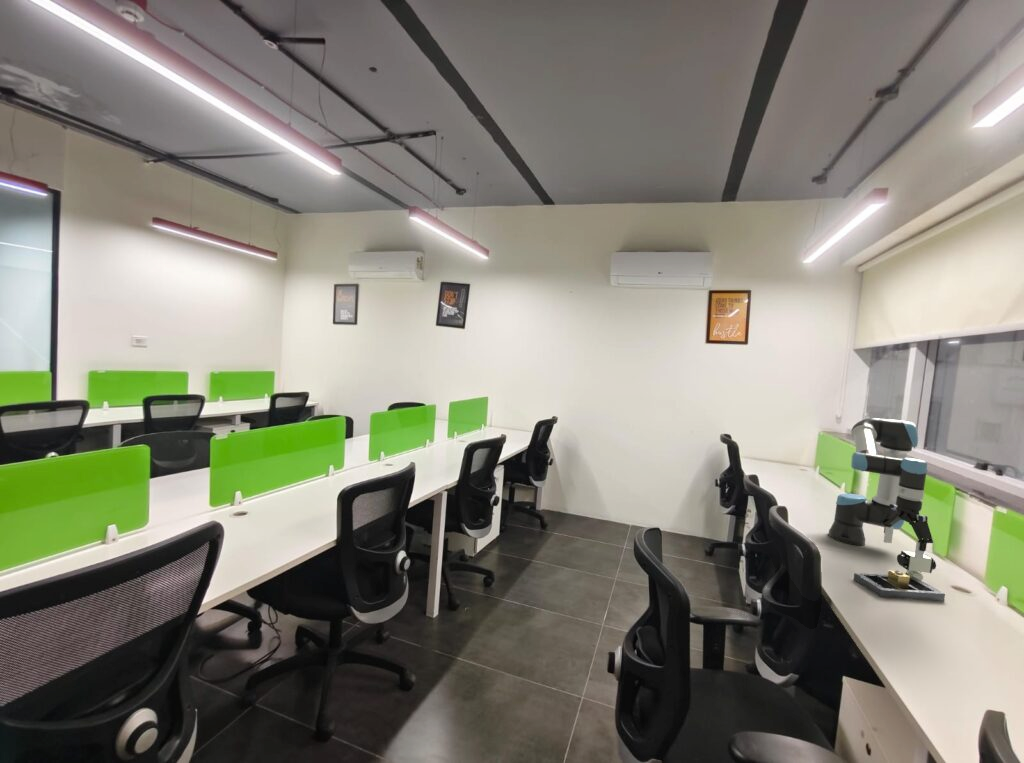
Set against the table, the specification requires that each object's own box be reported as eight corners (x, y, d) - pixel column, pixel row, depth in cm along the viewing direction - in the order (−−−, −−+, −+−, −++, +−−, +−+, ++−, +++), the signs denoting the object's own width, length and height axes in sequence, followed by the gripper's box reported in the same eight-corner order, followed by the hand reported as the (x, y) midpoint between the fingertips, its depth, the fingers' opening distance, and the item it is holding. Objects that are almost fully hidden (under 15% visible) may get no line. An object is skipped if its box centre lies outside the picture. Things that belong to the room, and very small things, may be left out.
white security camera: (933, 584, 181) (937, 556, 180) (901, 579, 183) (905, 552, 182) (924, 578, 186) (928, 551, 185) (892, 573, 188) (896, 546, 188)
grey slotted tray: (853, 579, 180) (854, 572, 180) (912, 583, 180) (913, 576, 180) (880, 597, 167) (881, 589, 167) (944, 601, 167) (945, 593, 167)
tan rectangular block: (897, 587, 176) (899, 569, 175) (907, 593, 171) (910, 575, 171) (886, 587, 176) (888, 568, 175) (896, 593, 171) (898, 574, 171)
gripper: (873, 487, 184) (867, 536, 185) (931, 508, 159) (923, 564, 160) (890, 488, 184) (884, 537, 185) (951, 510, 159) (943, 566, 160)
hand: (902, 550), depth 173 cm, fingers open, 13 cm apart
